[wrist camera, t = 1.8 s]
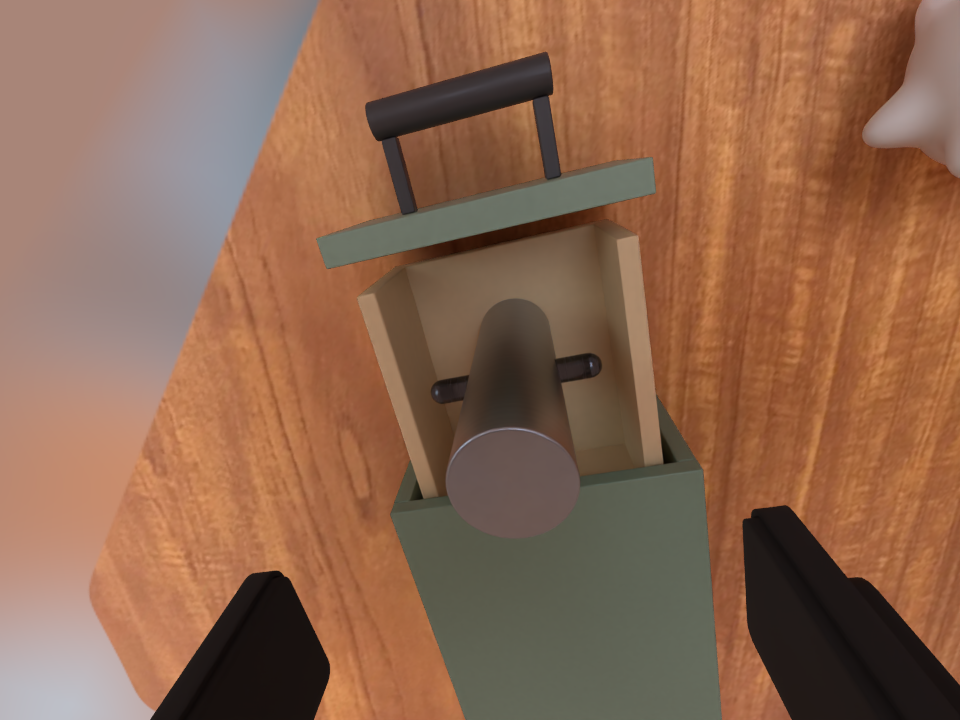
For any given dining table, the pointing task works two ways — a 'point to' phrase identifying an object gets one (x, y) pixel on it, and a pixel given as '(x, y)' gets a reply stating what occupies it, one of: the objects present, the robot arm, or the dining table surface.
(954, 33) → the cat figurine
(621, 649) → the cabinet
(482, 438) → the upright metal rod
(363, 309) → the drawer
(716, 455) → the dining table surface
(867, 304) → the dining table surface
